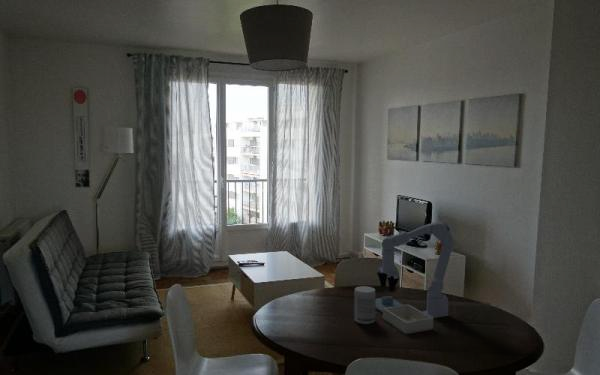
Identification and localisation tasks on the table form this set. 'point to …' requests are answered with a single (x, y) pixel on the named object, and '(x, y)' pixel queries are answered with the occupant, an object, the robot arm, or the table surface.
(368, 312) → the supplement tub
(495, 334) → the table surface
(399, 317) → the parts tub
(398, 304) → the snap lid
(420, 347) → the table surface
